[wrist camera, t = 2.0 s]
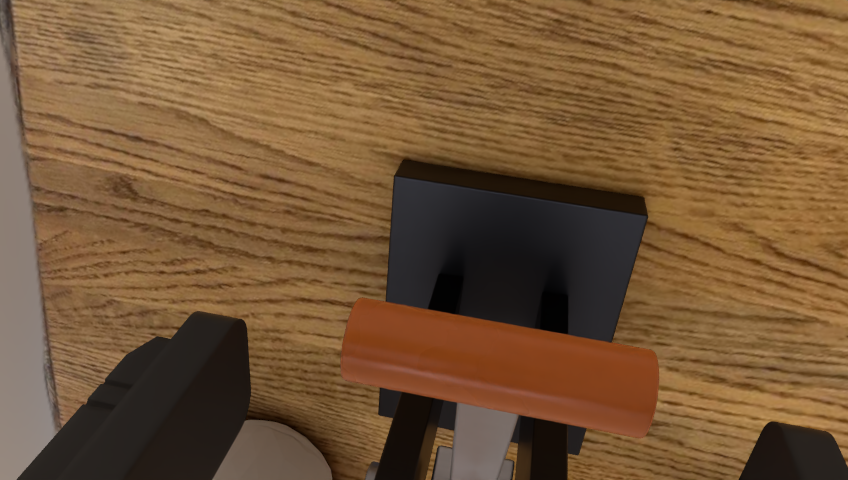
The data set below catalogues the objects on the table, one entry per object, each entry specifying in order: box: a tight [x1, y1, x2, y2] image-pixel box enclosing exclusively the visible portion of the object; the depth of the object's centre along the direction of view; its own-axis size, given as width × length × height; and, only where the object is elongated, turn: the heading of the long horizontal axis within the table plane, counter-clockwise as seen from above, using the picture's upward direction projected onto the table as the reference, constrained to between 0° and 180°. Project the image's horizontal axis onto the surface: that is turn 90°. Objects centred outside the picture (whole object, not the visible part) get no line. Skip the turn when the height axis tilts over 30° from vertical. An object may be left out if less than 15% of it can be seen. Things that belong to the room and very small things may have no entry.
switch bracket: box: [365, 160, 648, 480], centre depth 23 cm, size 12×9×12 cm
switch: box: [341, 297, 659, 480], centre depth 16 cm, size 12×5×2 cm, turn 175°
